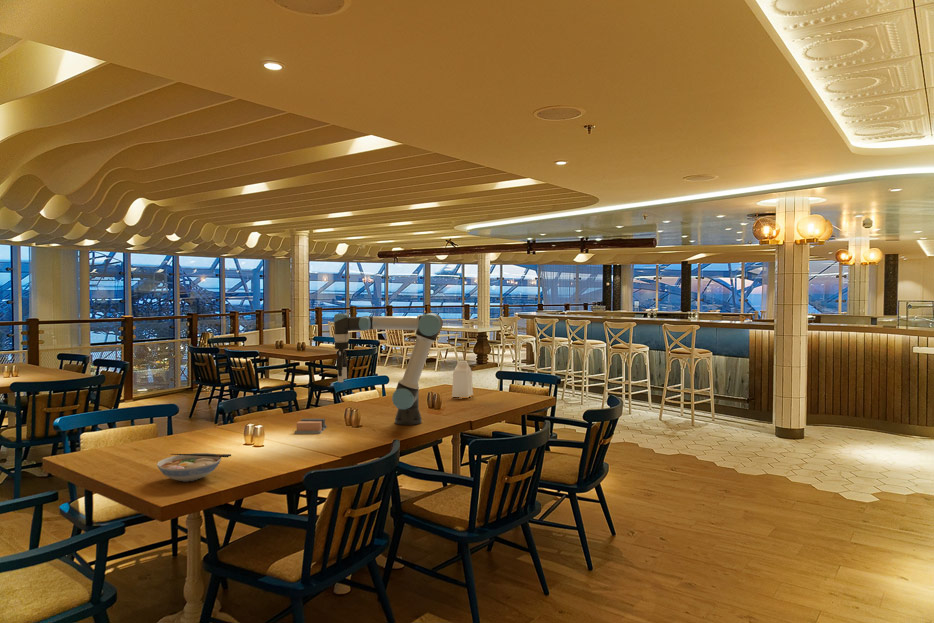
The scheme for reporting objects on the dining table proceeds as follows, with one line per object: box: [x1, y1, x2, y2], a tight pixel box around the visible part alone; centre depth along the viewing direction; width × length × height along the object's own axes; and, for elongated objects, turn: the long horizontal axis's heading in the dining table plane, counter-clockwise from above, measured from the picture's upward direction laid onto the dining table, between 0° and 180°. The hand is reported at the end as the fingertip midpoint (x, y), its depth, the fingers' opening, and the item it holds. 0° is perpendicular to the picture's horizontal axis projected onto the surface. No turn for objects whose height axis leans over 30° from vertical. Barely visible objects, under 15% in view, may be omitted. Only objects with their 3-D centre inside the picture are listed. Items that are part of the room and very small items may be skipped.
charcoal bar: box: [300, 418, 326, 429], centre depth 315 cm, size 12×4×5 cm, turn 91°
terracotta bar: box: [296, 420, 323, 432], centre depth 308 cm, size 12×4×5 cm, turn 91°
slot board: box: [294, 424, 328, 435], centre depth 311 cm, size 13×16×2 cm
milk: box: [451, 360, 474, 398], centre depth 425 cm, size 12×12×26 cm
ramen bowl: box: [156, 452, 232, 483], centre depth 229 cm, size 25×23×8 cm
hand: (342, 380), depth 325 cm, fingers open, 13 cm apart
